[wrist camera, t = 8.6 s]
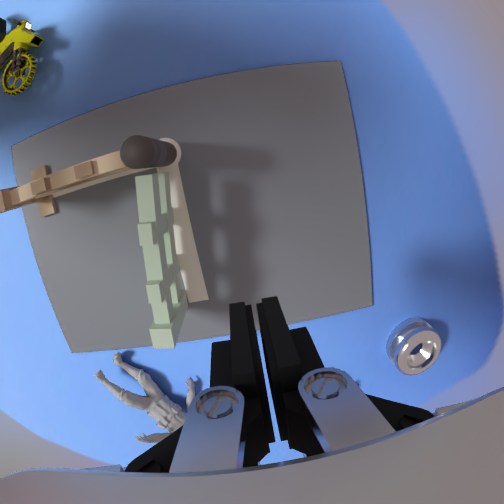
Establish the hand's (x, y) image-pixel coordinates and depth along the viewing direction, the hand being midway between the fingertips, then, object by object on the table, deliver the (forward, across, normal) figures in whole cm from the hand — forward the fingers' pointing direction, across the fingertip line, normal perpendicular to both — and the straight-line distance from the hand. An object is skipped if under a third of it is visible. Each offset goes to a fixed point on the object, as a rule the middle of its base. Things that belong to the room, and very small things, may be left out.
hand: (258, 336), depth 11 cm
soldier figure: (+14, +10, +14) cm, 22 cm away
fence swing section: (+13, +5, -1) cm, 14 cm away
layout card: (+14, +4, -2) cm, 14 cm away
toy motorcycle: (+15, +18, -21) cm, 32 cm away
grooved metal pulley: (+13, -14, +12) cm, 23 cm away
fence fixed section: (+14, +10, -7) cm, 18 cm away
